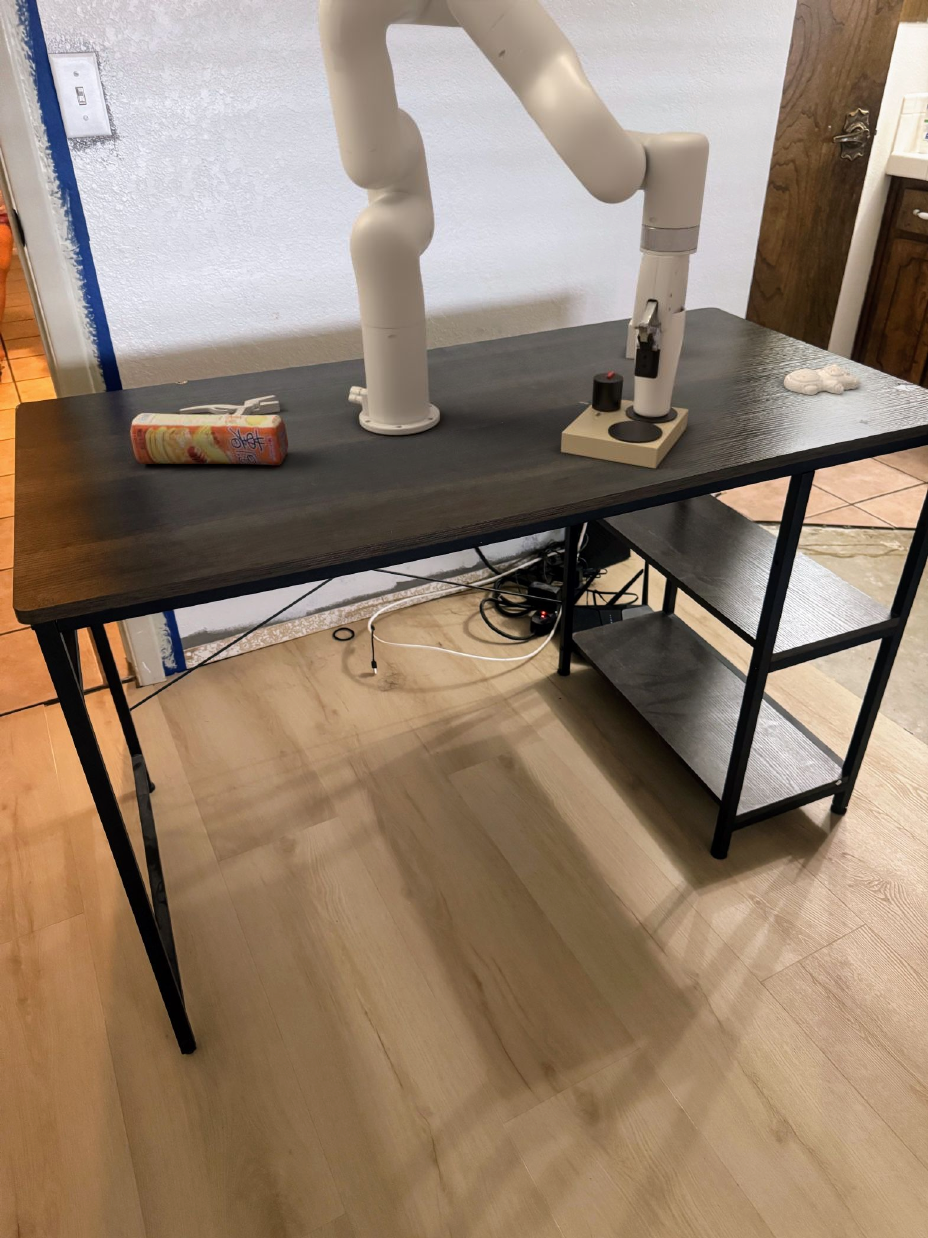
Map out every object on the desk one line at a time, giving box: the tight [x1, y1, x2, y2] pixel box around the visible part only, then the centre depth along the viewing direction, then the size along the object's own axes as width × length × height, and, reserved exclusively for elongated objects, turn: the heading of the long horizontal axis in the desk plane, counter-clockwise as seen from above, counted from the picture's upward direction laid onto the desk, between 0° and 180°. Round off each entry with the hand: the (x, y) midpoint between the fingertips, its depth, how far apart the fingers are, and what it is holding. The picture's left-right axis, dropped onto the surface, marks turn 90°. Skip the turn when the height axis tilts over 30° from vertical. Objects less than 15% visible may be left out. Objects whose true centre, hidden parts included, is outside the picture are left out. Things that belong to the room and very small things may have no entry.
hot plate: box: [560, 399, 689, 469], centre depth 129 cm, size 16×16×3 cm
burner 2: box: [608, 421, 663, 443], centre depth 124 cm, size 8×8×1 cm
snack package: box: [130, 412, 289, 466], centre depth 125 cm, size 21×7×7 cm, turn 87°
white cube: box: [625, 316, 635, 360], centre depth 161 cm, size 6×6×6 cm
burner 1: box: [625, 405, 678, 424], centre depth 130 cm, size 8×8×1 cm
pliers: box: [179, 395, 281, 415], centre depth 141 cm, size 10×2×15 cm
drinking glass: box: [633, 306, 687, 417], centre depth 125 cm, size 7×7×15 cm
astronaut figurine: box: [783, 363, 861, 396], centre depth 146 cm, size 9×12×3 cm
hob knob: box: [591, 370, 624, 412], centre depth 131 cm, size 4×4×5 cm
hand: (655, 366), depth 126 cm, fingers open, 9 cm apart
